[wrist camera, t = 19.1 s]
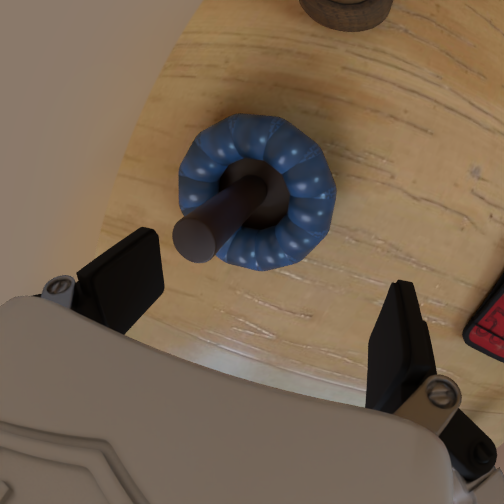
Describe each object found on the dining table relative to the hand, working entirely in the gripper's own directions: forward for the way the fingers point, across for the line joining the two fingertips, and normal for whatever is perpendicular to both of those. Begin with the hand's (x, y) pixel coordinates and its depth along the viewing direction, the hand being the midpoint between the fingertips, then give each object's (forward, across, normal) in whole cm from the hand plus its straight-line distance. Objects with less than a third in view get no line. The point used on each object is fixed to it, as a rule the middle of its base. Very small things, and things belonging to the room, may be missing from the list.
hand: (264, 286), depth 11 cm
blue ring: (+10, +4, 0) cm, 10 cm away
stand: (+12, +4, 0) cm, 13 cm away
